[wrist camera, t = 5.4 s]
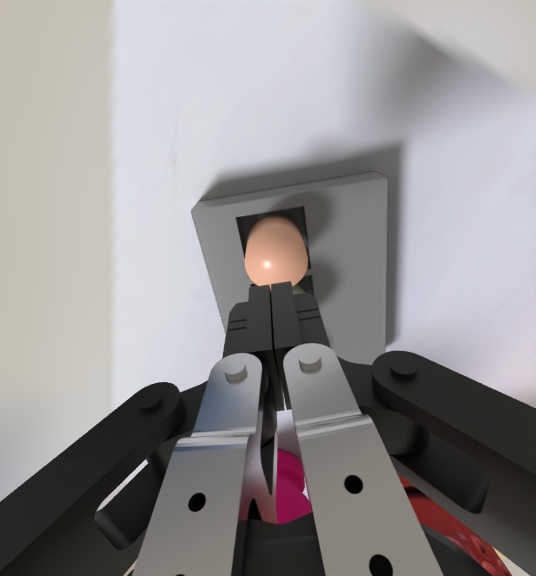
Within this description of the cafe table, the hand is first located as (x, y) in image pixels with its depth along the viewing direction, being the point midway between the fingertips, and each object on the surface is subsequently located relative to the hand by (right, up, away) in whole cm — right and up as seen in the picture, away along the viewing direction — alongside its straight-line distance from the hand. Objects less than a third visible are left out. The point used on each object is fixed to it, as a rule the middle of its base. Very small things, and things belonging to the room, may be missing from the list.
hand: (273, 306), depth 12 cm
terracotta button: (0, +3, +6) cm, 7 cm away
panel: (+2, +1, +9) cm, 10 cm away
